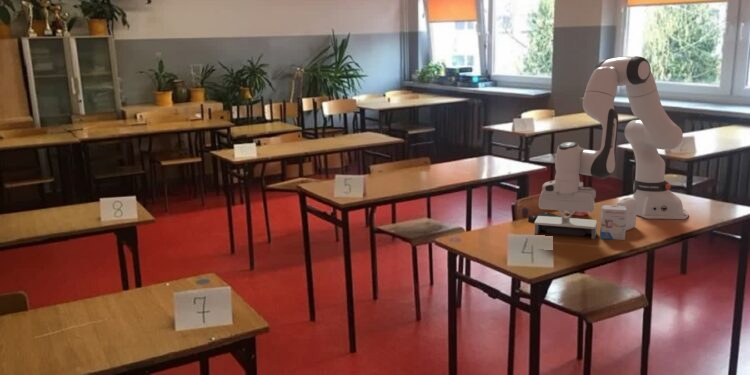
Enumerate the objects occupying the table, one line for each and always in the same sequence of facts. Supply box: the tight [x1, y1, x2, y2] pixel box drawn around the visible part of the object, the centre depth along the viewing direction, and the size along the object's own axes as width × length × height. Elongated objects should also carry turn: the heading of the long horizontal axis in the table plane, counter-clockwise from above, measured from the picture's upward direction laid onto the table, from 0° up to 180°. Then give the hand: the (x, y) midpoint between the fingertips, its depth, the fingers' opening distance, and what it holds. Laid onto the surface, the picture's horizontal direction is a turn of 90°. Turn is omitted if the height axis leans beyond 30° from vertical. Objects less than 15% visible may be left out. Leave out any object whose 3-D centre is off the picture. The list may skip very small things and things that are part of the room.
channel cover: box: [533, 216, 598, 229], centre depth 242 cm, size 22×10×1 cm, turn 67°
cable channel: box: [534, 223, 598, 240], centre depth 244 cm, size 22×8×4 cm, turn 67°
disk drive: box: [528, 211, 561, 223], centre depth 259 cm, size 10×3×15 cm
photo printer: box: [615, 197, 637, 232], centre depth 246 cm, size 10×4×12 cm, turn 129°
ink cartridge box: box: [564, 181, 589, 217], centre depth 269 cm, size 9×5×15 cm, turn 42°
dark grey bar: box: [544, 226, 587, 237], centre depth 243 cm, size 15×3×3 cm, turn 67°
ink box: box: [599, 204, 627, 241], centre depth 237 cm, size 9×5×12 cm, turn 75°
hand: (565, 221), depth 241 cm, fingers closed
